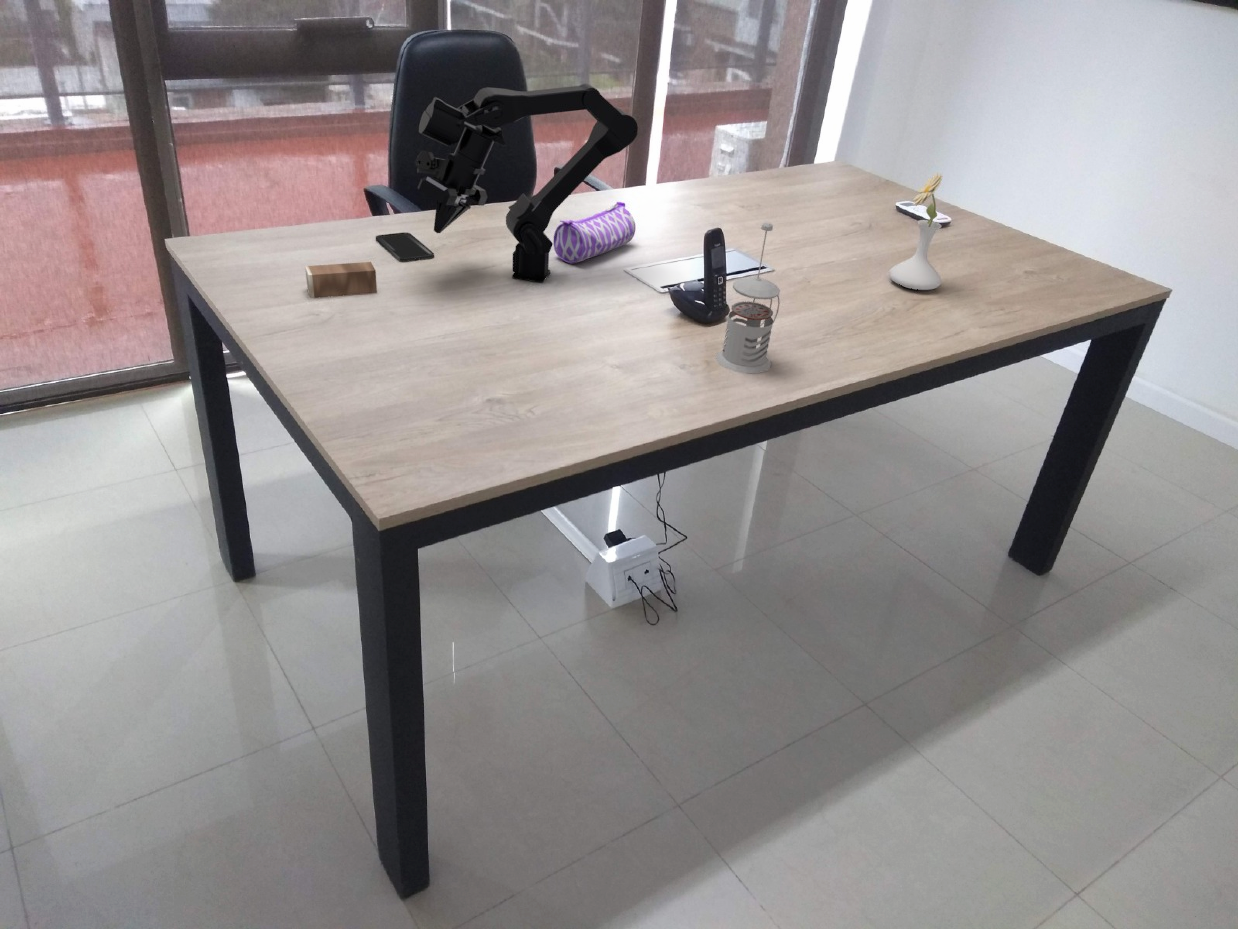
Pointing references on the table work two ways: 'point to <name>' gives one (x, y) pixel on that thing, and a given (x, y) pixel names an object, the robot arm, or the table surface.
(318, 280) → the walnut block
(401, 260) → the phone
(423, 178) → the robot arm
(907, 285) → the flower in vase
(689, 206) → the table surface
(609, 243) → the pencil case
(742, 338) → the french press
